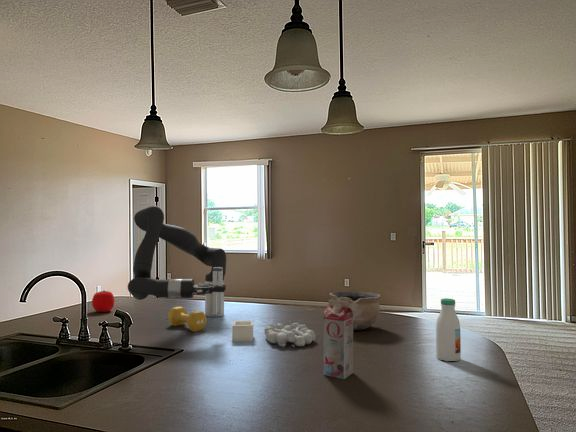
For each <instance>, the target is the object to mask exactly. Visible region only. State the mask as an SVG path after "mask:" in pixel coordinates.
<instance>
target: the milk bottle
mask: <svg viewBox="0 0 576 432" xmlns="http://www.w3.org/2000/svg"><path fill="white" fill-rule="evenodd" d="M440 306H441V309H440V312H439V315H438V316H437V319H436V325H435V326H436V327H435V328H436V329H435V357H436V358H437V359H438V360H440V361H442V360H444V361H443V362H448V361H457V362H459V361H461V357H462V356H461V355H462V354H461V353H462V351H461V349H462V348H461V347H462V346H461V343H462V342H461V339H462V338H461V323H460V319H459V317H458V315H457V313H456V309H455V307H456V300H455V299H453V298H448V297H447V298H444V297H443V298H441V299H440ZM458 360H459V361H458Z"/></svg>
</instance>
